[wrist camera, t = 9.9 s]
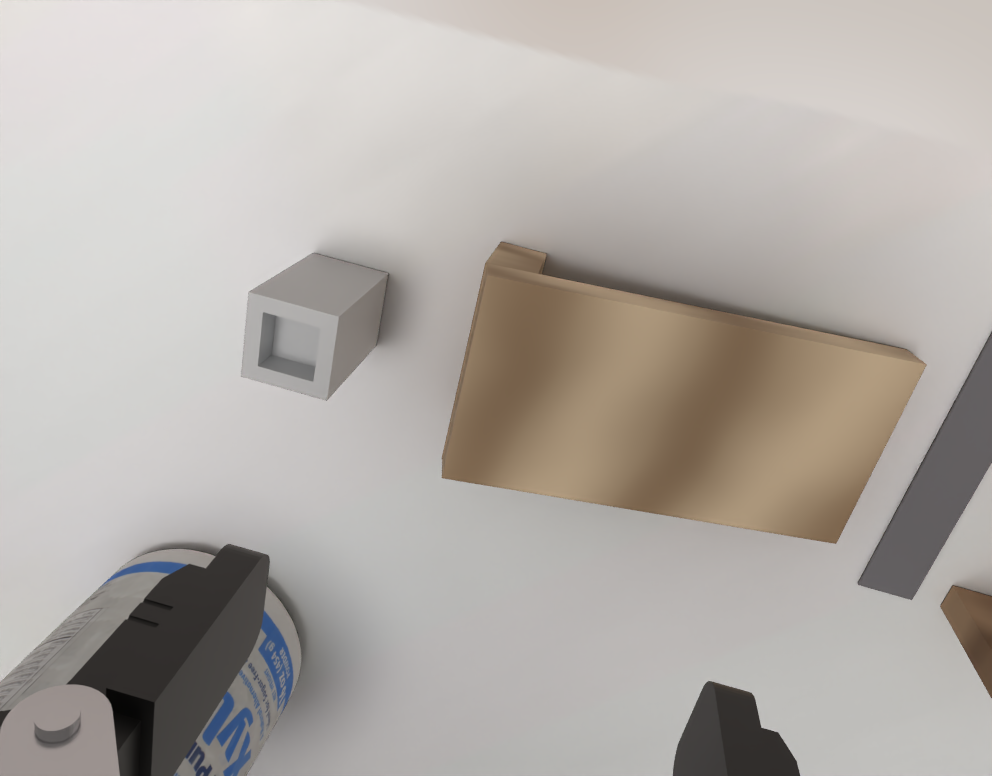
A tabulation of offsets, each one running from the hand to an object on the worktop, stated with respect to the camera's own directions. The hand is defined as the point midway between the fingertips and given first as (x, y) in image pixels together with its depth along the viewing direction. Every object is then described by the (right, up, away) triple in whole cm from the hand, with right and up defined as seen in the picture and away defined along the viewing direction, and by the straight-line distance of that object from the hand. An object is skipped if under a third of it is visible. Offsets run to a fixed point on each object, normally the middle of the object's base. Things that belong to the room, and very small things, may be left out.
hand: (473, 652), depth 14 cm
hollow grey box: (-5, +8, +14) cm, 17 cm away
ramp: (+7, +5, +13) cm, 16 cm away
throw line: (+16, +2, +13) cm, 21 cm away
